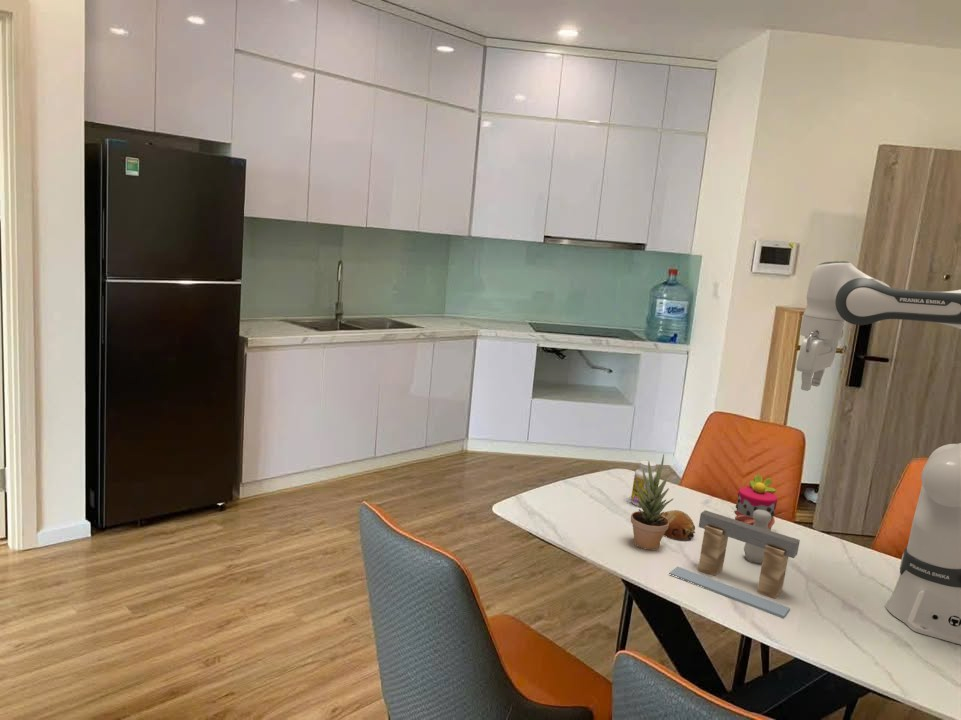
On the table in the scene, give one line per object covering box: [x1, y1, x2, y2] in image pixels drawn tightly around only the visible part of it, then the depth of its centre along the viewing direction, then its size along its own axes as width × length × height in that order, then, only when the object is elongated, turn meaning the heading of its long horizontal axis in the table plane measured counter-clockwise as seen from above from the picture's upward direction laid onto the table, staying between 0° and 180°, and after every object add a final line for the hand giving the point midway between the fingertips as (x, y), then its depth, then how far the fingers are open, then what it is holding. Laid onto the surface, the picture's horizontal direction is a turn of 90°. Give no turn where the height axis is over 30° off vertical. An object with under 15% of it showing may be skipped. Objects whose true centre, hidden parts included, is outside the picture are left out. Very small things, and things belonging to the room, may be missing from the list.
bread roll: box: [662, 509, 696, 541], centre depth 195 cm, size 10×10×8 cm
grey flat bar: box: [668, 566, 791, 619], centre depth 164 cm, size 26×5×1 cm, turn 53°
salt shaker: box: [743, 510, 771, 565], centre depth 182 cm, size 6×6×13 cm
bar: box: [698, 509, 801, 559], centre depth 169 cm, size 22×3×4 cm, turn 53°
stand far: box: [697, 526, 729, 577], centre depth 174 cm, size 4×6×11 cm, turn 143°
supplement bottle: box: [630, 460, 657, 508], centre depth 214 cm, size 7×7×13 cm
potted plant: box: [630, 453, 674, 550], centre depth 183 cm, size 10×10×25 cm
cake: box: [733, 474, 778, 531], centre depth 203 cm, size 10×11×15 cm
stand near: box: [756, 545, 789, 599], centre depth 166 cm, size 4×6×11 cm, turn 143°
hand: (810, 388), depth 171 cm, fingers open, 8 cm apart
